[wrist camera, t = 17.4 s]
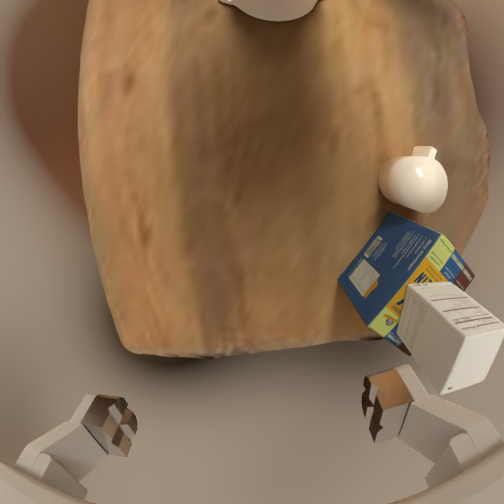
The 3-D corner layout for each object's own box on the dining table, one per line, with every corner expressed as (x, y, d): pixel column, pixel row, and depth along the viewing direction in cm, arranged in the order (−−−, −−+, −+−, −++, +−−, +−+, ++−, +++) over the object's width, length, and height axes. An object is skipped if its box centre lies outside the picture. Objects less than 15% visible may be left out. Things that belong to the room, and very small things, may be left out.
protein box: (425, 244, 45) (476, 275, 30) (374, 308, 49) (409, 358, 34) (390, 209, 43) (442, 231, 28) (335, 280, 47) (365, 328, 32)
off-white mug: (407, 210, 43) (436, 222, 34) (371, 191, 42) (396, 198, 34) (426, 159, 40) (457, 161, 31) (391, 137, 39) (419, 133, 31)
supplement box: (436, 327, 32) (483, 382, 20) (394, 333, 32) (437, 398, 20) (450, 279, 30) (510, 326, 18) (407, 281, 30) (465, 337, 18)
